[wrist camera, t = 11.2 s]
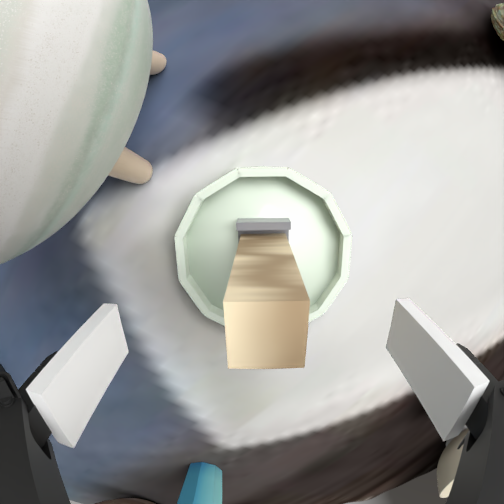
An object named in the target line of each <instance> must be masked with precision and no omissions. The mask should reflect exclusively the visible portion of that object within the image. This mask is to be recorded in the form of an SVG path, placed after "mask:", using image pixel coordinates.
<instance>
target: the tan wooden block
mask: <svg viewBox="0 0 504 504" xmlns="http://www.w3.org/2000/svg"><path fill="white" fill-rule="evenodd" d="M309 307H310V299H309V296H308V294H307V291H306V288H305V285H304V282H303V280H302V277H301V274H300V271H299V269H298V266H297V263H296V260H295V258H294V255H293V252H292V250H291V247H290V244H289V242H288V239H287V236H286V234H285V233H268V234H241V236H240V240H239V243H238V247H237V251H236V255H235V258H234V262H233V266H232V270H231V273H230V277H229V281H228V285H227V289H226V292H225V296H224V300H223V308H224V322H225V335H226V348H227V360H228V369H277V368H304V366H305V356H306V345H307V333H308V321H309Z"/></svg>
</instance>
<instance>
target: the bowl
mask: <svg viewBox="0 0 504 504" xmlns="http://www.w3.org/2000/svg"><path fill="white" fill-rule="evenodd" d="M468 431H469V429H468V428H467V426H466V425H465V426H464V428H463V429H462V431H461V432H460V434H459V435H458V436H456V437H454V438H451V439H449V440H447V442H446V448H445V449H444V451H443V453H442V455H441V457H440V459H439V462H438V466H437V481H438V489H439V496H440V497H441V498H445V497H448V496H449V494H450V491H451V488H452V485H453V482H454V478H455V475H456V472H457V468H458V465H459V461H460V457H461V453H462V449H463V445H464V444H463V445H462V446H461V448H460V449H457V448H458V446H459V444H460V443H461V441H462V440H463V438H464V437H465V435H466V434H467V432H468Z"/></svg>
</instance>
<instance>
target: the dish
mask: <svg viewBox="0 0 504 504" xmlns="http://www.w3.org/2000/svg"><path fill="white" fill-rule="evenodd" d="M268 233H285V234H286V236H287V239H288V242H289V244H290V247H291V250H292V252H293V255H294V258H295V260H296V263H297V266H298V269H299V271H300V274H301V277H302V280H303V282H304V285H305V288H306V291H307V294H308V296H309V299H310V307H309V321H308V323H309V322H311V321H313V320H315V319H317V318H318V317H320V316H322V315H323V314H325V312H326V311H327V310H328V308H329V307H330V305H331V304H332V302H333V301H334V300H335V298H336V297H337V295H338V294H339V292H340V291H341V289H342V288H343V287H344V285H345V284H346V282H347V281H348V278H349V270H350V258H351V245H352V235H351V234H352V233H351V231H350V229H349V227H348V225H347V223H346V221H345V219H344V217H343V215H342V213H341V211H340V209H339V207H338V205H337V203H336V201H335V199H334V197H333V196H332V194H331V193H330V192H329V191H328V190H326V189H324V188H323V187H321V186H319V185H318V184H316V183H315V182H313V181H311V180H310V179H308V178H306V177H305V176H303V175H301V174H299V173H298V172H296V171H294V170H293V169H291V168H289V167H263V166H262V167H242V168H236V169H234V170H232V171H231V172H229V173H227V174H226V175H224V176H223V177H221V178H219V179H218V180H216V181H215V182H213V183H211V184H210V185H208V186H207V187H205V188H204V189H202V190H201V191H199V192H197V193H196V194H195V195H194V197H193V199H192V201H191V203H190V205H189V207H188V209H187V211H186V213H185V215H184V217H183V219H182V221H181V223H180V225H179V228H178V230H177V232H176V234H175V237H174V239H175V250H176V260H177V270H178V279H179V280H180V281H179V282H180V283H181V285H182V286H183V288H184V289H185V290H186V292H187V293H188V295H189V296H190V297H191V299H192V300H193V302H194V303H195V304H196V306H197V307H198V308H199V310H200V311H201V313H202V314H203V315H205V317H207V318H209V319H211V320H213V321H215V322H217V323H219V324H221V325H223V326H225V322H224V308H223V300H224V296H225V292H226V289H227V285H228V281H229V277H230V273H231V270H232V266H233V262H234V258H235V255H236V251H237V247H238V243H239V240H240V236H241V234H268Z"/></svg>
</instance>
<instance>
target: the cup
mask: <svg viewBox="0 0 504 504" xmlns="http://www.w3.org/2000/svg"><path fill="white" fill-rule="evenodd" d="M177 504H222V470H220V469H219V468H218V467H217V466H216V465H212V464H208V463H204V462H198V463H191V464H190V466H189V469H188V472H187V475H186V478H185V481H184V484H183V487H182V490H181V493H180V496H179V499H178V502H177Z"/></svg>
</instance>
